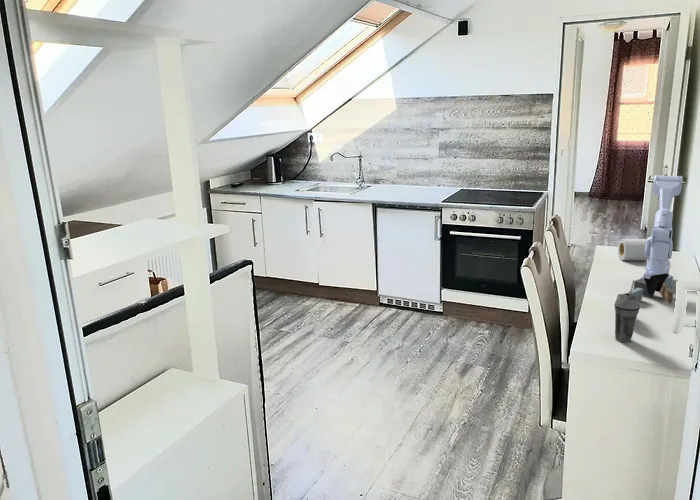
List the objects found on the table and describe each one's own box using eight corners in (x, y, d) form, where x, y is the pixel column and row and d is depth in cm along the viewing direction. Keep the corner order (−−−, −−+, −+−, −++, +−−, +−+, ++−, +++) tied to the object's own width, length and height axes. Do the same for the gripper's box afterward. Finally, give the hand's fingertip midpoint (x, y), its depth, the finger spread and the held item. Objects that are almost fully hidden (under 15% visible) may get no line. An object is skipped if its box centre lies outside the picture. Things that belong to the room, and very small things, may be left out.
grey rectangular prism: (638, 290, 218) (640, 278, 217) (653, 295, 214) (655, 282, 212) (633, 293, 216) (634, 280, 215) (648, 297, 211) (650, 285, 210)
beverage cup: (605, 335, 180) (612, 277, 175) (627, 334, 181) (634, 276, 175) (618, 345, 173) (625, 285, 168) (640, 343, 174) (648, 283, 168)
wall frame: (666, 285, 223) (668, 275, 222) (672, 286, 222) (673, 276, 220) (626, 302, 207) (628, 291, 205) (631, 304, 205) (633, 293, 204)
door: (657, 289, 218) (658, 280, 217) (659, 289, 218) (661, 280, 217) (668, 303, 204) (669, 293, 203) (671, 303, 204) (672, 293, 203)
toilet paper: (624, 263, 253) (626, 241, 250) (617, 256, 263) (619, 236, 260) (647, 263, 252) (650, 242, 249) (639, 257, 261) (642, 236, 258)
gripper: (657, 252, 215) (653, 285, 218) (637, 259, 207) (633, 293, 211) (676, 256, 209) (671, 290, 213) (656, 264, 201) (652, 299, 205)
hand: (653, 292), depth 211 cm, fingers closed on grey rectangular prism, 4 cm apart
